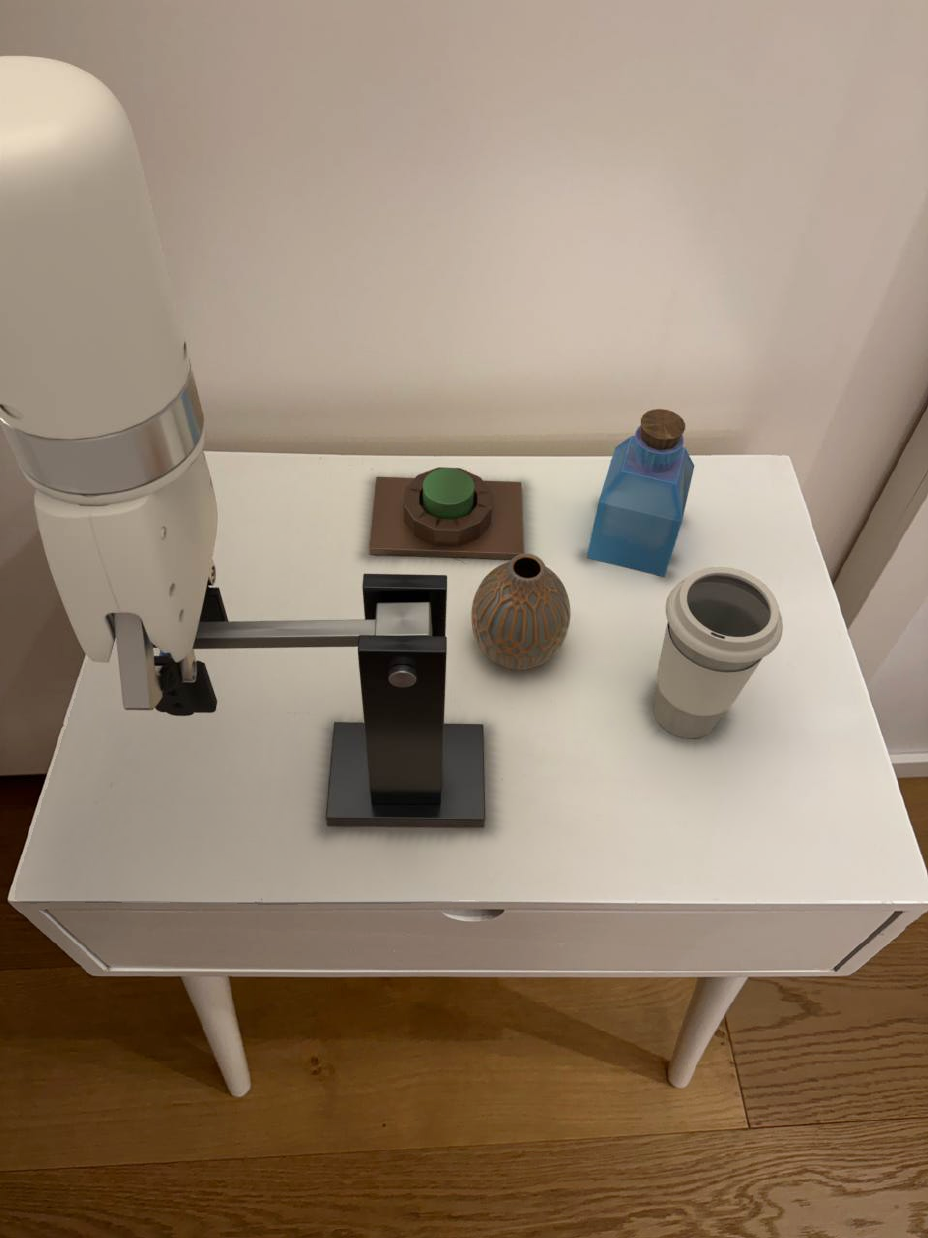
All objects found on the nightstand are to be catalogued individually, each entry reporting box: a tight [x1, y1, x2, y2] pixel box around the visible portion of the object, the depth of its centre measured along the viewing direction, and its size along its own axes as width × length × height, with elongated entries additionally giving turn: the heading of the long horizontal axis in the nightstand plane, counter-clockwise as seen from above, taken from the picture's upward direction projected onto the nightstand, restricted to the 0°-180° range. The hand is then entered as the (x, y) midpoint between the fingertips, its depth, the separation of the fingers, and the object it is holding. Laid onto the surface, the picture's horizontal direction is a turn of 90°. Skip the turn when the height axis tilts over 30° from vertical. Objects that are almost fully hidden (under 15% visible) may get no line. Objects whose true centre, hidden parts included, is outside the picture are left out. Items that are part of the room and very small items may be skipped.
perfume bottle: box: [586, 408, 695, 578], centre depth 72 cm, size 6×6×12 cm
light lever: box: [158, 602, 432, 656], centre depth 50 cm, size 14×4×2 cm, turn 90°
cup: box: [652, 566, 784, 739], centre depth 62 cm, size 7×7×12 cm
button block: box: [368, 466, 525, 560], centre depth 76 cm, size 12×8×2 cm, turn 89°
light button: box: [423, 467, 474, 519], centre depth 74 cm, size 4×4×2 cm
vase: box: [470, 553, 572, 670], centre depth 66 cm, size 7×7×9 cm
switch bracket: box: [325, 573, 486, 828], centre depth 56 cm, size 10×7×18 cm
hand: (194, 668), depth 52 cm, fingers closed on light lever, 4 cm apart
